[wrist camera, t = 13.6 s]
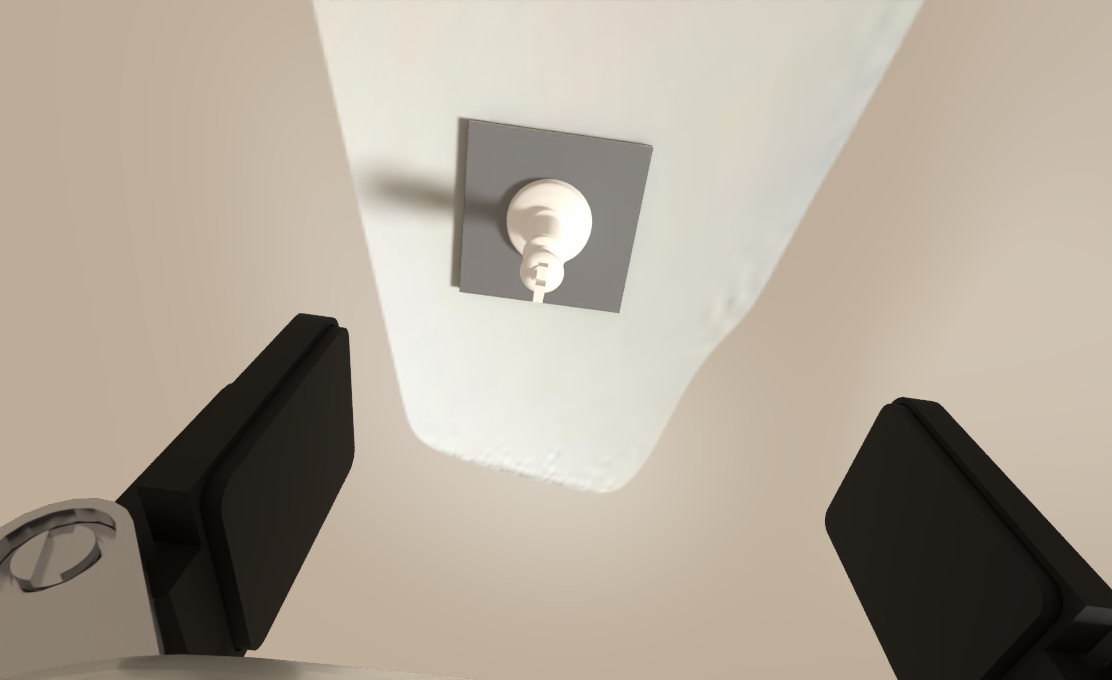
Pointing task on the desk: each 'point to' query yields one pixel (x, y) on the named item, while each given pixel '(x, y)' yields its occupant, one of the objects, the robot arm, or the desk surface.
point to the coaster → (584, 162)
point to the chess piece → (547, 231)
